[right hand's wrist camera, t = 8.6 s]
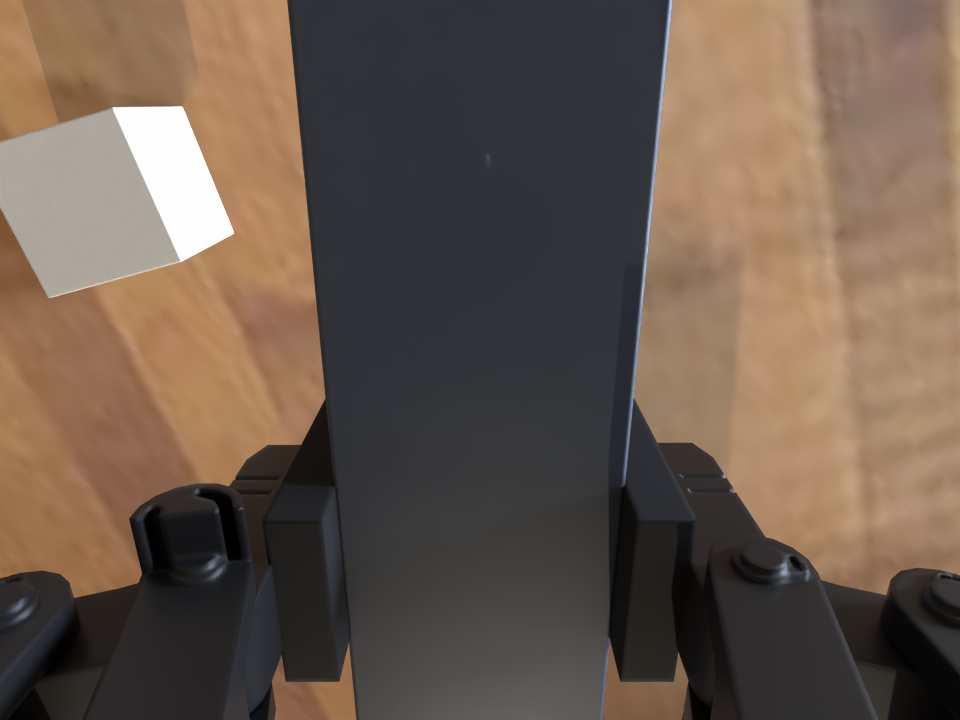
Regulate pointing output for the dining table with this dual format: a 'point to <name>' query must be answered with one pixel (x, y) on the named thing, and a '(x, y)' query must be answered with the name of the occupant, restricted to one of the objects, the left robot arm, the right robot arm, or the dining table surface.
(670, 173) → the dining table surface
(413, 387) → the bar
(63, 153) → the cream block
